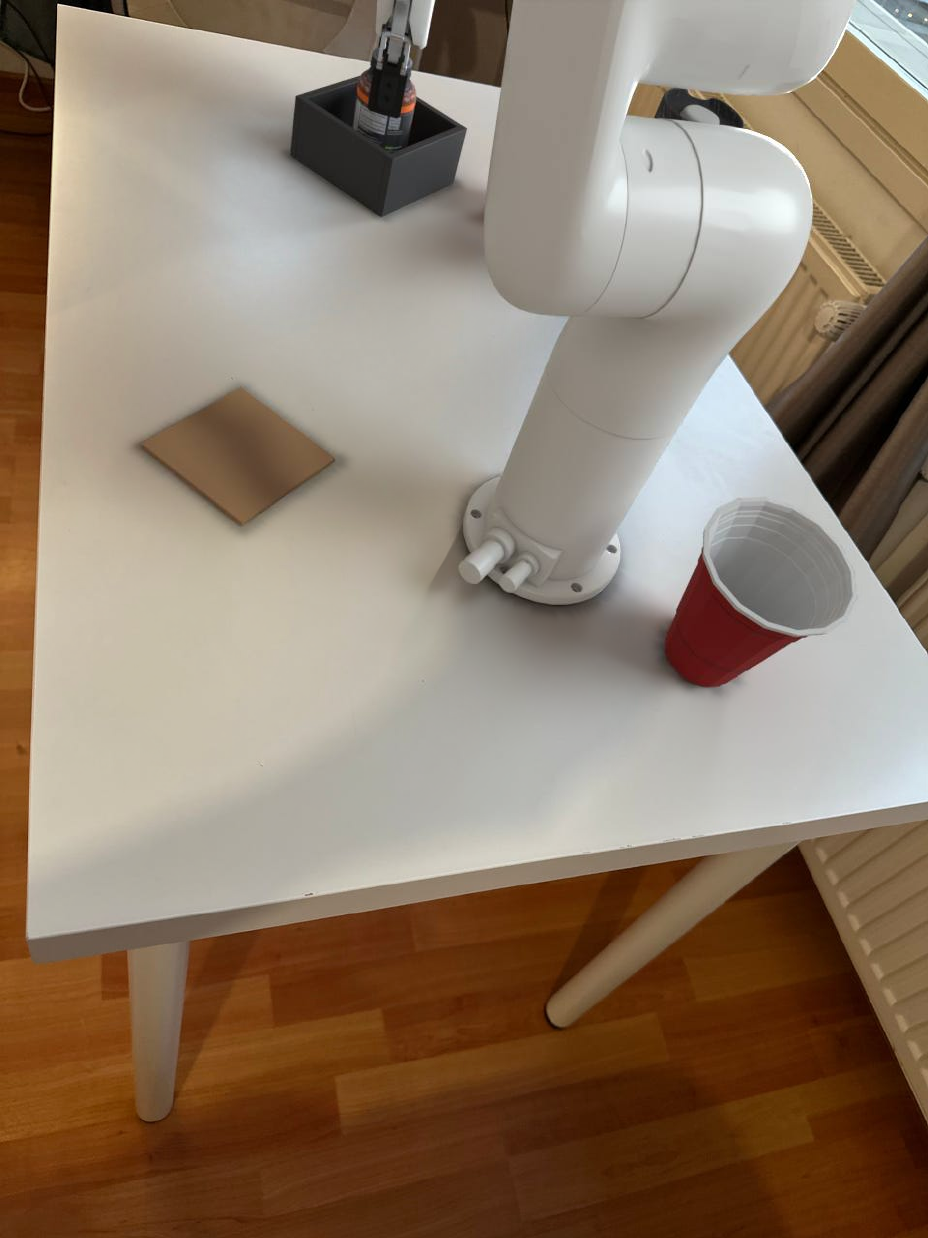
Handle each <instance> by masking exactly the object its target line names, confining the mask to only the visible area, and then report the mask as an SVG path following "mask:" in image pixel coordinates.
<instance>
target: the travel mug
mask: <svg viewBox="0 0 928 1238" xmlns="http://www.w3.org/2000/svg"><path fill="white" fill-rule="evenodd" d="M653 118H656V119H658V118H665V119H674V120H682V121H691V122H700V123H709V124H717V125H725V126H731V127H736V128H741V129H745V122H744V120H743V118H742V116H741V114H739V113H738V111H736V110H735V109H734V108H733V106H730V105H729V104H728V103H726V102H725V101H723V100H721V99H719V98H718V97H709V98H707V99H702V98H700V97H699V98H698V97H696V96H693V95H692V94H690V92H689V89H681V88H673V87H670V88H669V89H667V90H666V91H665V92H664V93H663V96H662V97H661V100H660V102H659V105H658V107H657V109H656V112H655V114H654V117H653Z"/></svg>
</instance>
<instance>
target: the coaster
mask: <svg viewBox="0 0 928 1238" xmlns="http://www.w3.org/2000/svg"><path fill="white" fill-rule="evenodd" d="M140 446H141V449H143V450H144V451H145V452H146V453H148V454H149V455H151V456H152V457H153V458H155V459H156V460H157V461H158V462H160V463H161V464H162V465H163V466H164V467H166V468H167V469H168V470H170V471H171V472H172V473H174V474H175V475H176V477H177V476H178V478H180V479H181V480H182V481H184V483H186V484H187V485H189V486H190V487H191V488H192V489H194V490H195V491H196V492H198V494H200V495H201V496H203V497H204V498H205V499H206V500H208V501H209V502H210V503H211V504H213V505H214V506H215V507H217V508H218V509H219V510H220V511H221V512H223V513H224V514H225V515H227V516H228V518H230V519H232V520H233V521H235V522H236V523H237V524H238V525H239V526H241V527H243V526H244V525H246V524H247V523H249V522H250V521H252V520H253V519H254V518H256V517H257V516H259V515H260V514H262V513H263V512H265V511H266V510H268V509H269V508H270V507H271V506H274V504H276V503H278V502H279V501H280V500H282V499H283V498H285V497H287V496H288V495H289V494H290V493H292V492H293V491H295V490H296V489H298V488H299V487H301V486H302V485H303V484H304V483H306V482H308V481H309V480H311V479H312V478H313V477H315V476H316V475H318V474H319V473H320V472H322V471H323V470H324V469H326V468H328V467H329V466H331V465H332V464H333V463H335V462H336V457H335V456H334V455H333V454H331V453H330V452H328V451H327V450H326V449H324V448H323V447H322V446H320V445H319V444H317V442H315V441H313V439H311V438H310V437H308V436H307V435H306V434H304V433H303V432H302V431H300V430H299V429H298V428H296V427H295V426H293V425H292V424H291V423H290V422H288V421H287V420H286V419H284V418H283V417H281V416H280V415H279V414H277V413H276V412H275V411H274V410H272V409H271V408H269V406H267V405H266V404H265V403H263V402H262V401H261V400H259V399H257V397H255V396H254V395H252V394H251V393H250V392H248V391H247V390H245V388H243V387H242V386H240V387H238V388H236V389H235V390H233V391H231V392H229V393H228V394H226V395H224V396H223V397H220V398H219V399H217V400H215V401H214V402H212V403H210V404H208V405H206V406H205V407H203V408H201V409H199V410H198V411H196V412H194V413H192V414H190V415H189V416H187V417H185V418H183V419H182V420H180V421H179V422H177V423H175V424H173V425H171V426H169V427H168V428H166V429H164V430H163V431H161V432H159V433H157V434H156V435H153V436H152V437H150V438H148V439H146V440H145V441H143V442H142V443H141V445H140Z"/></svg>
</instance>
